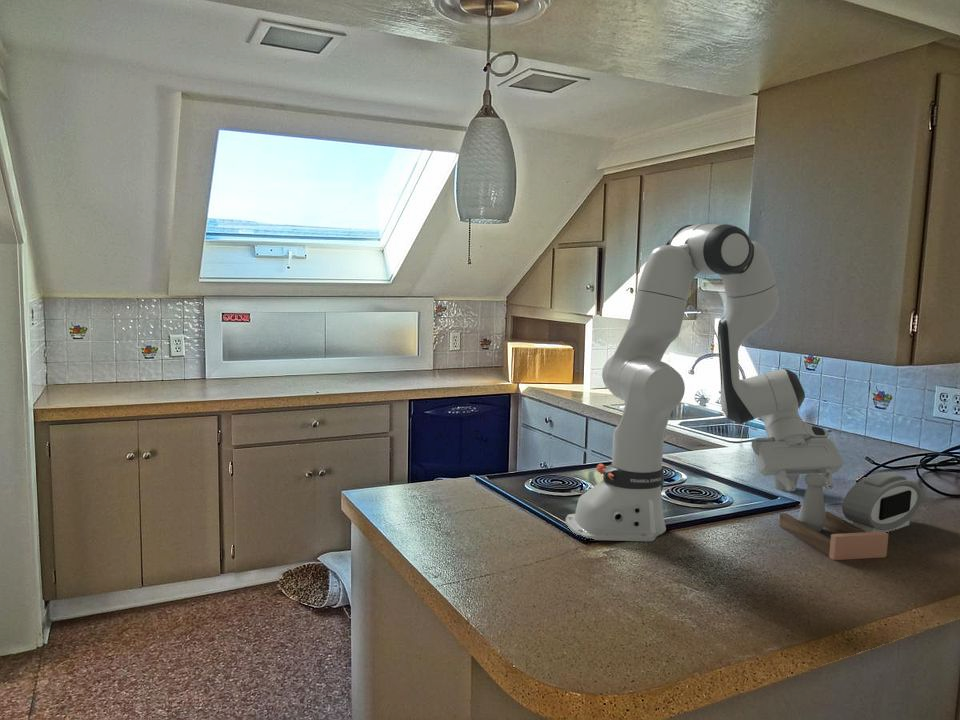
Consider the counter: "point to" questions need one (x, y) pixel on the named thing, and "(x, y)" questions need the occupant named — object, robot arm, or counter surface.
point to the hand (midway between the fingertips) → (810, 489)
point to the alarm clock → (882, 502)
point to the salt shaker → (813, 502)
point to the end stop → (858, 545)
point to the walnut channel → (814, 536)
